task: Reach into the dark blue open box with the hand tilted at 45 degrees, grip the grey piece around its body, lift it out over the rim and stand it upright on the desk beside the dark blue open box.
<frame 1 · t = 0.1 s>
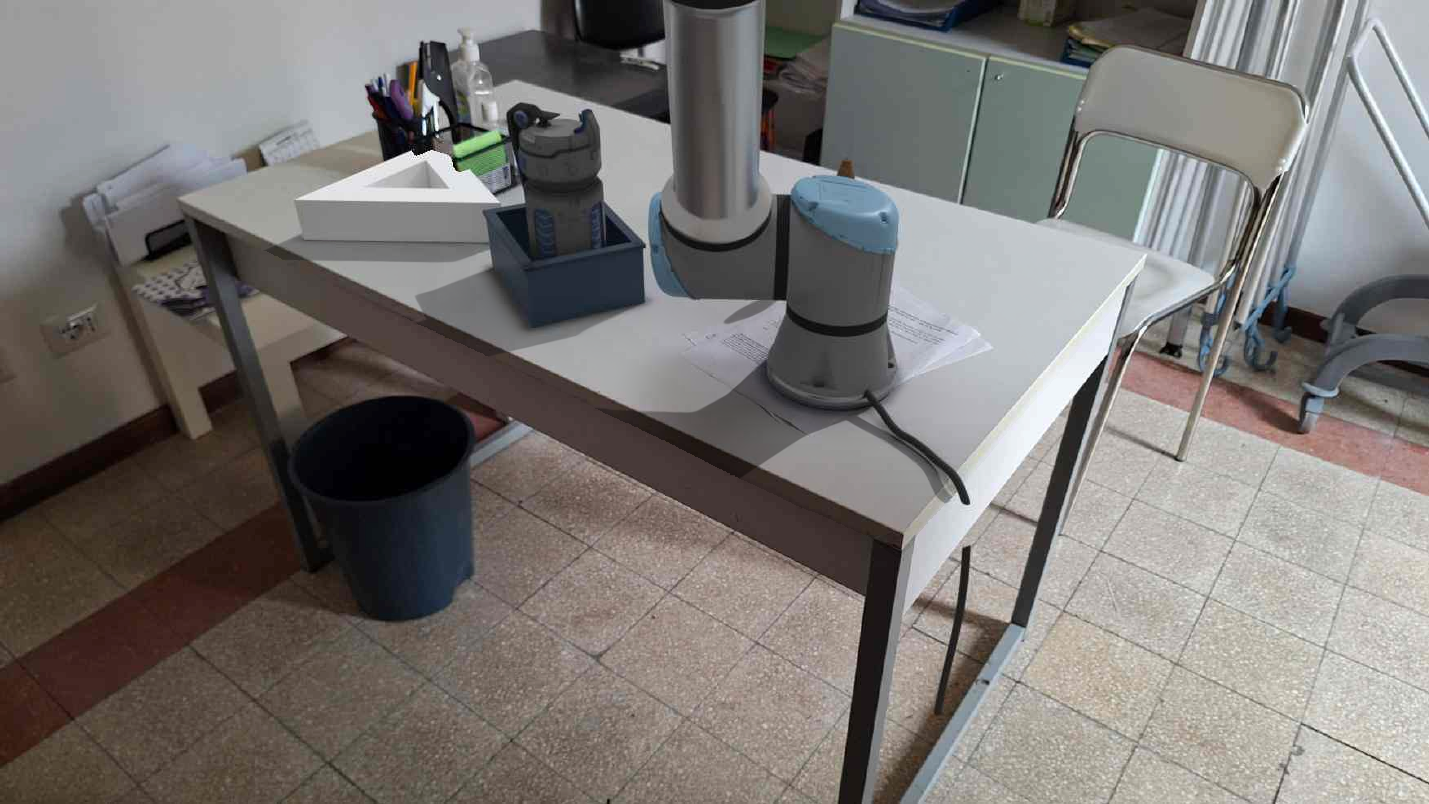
dark blue open box: (566, 284, 136), on the table
triangle block: (440, 224, 152), on the table
hand bell: (837, 266, 142), on the table
grey piece: (566, 285, 136), resting in dark blue open box
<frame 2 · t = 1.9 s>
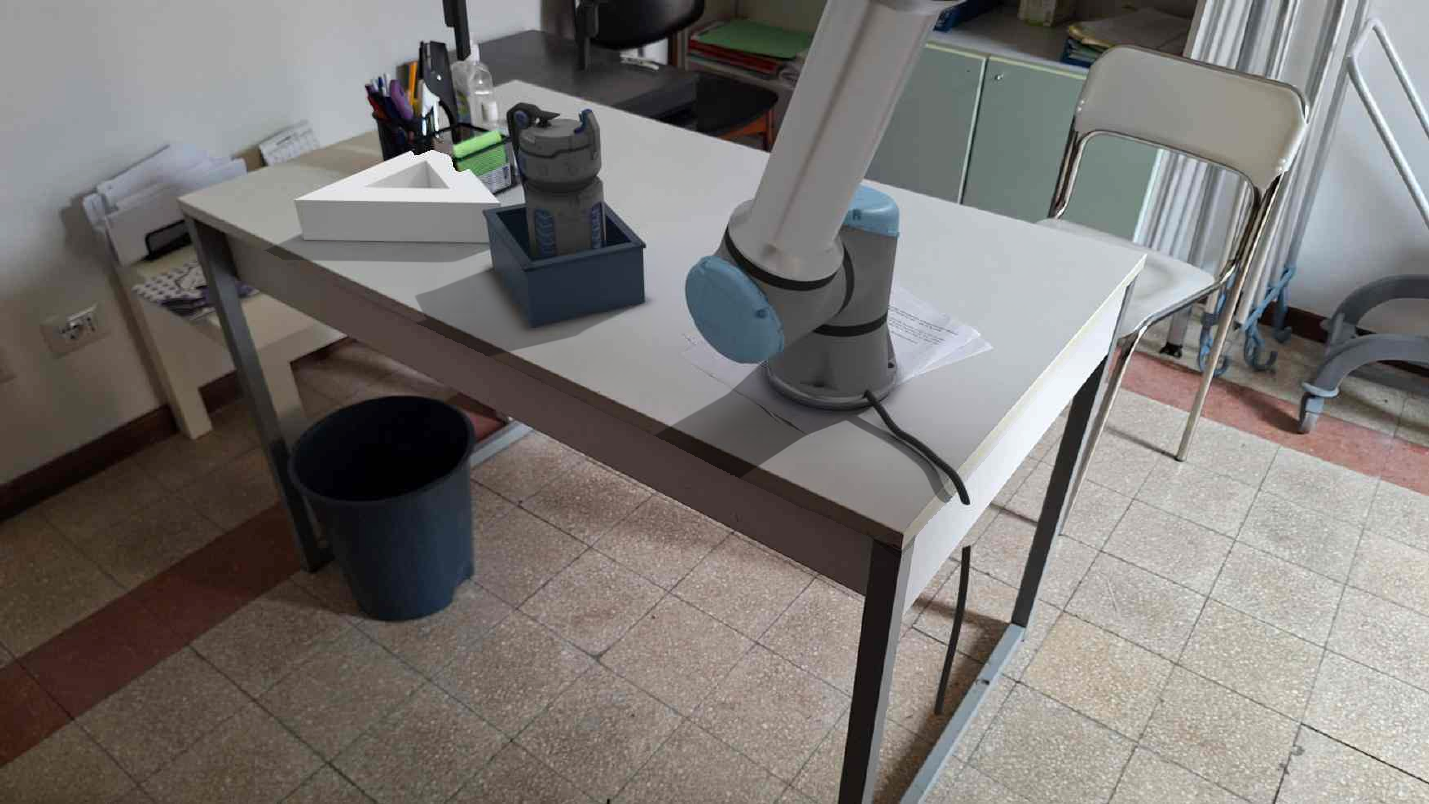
hand: (524, 62, 110), 33 cm above the table, tool pointing down, fingers open, 13 cm apart
nothing on the table moved.
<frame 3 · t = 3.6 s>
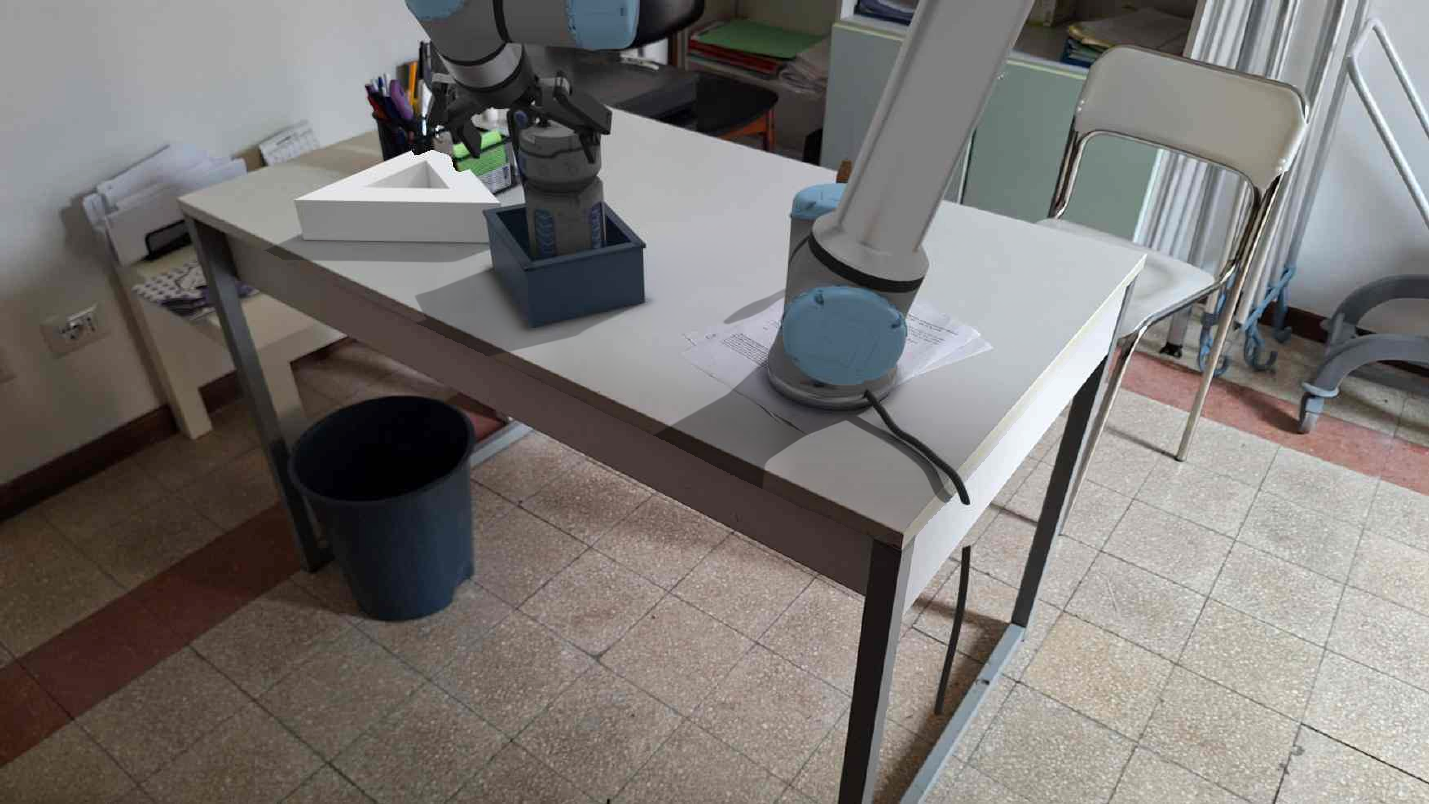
hand: (535, 150, 115), 23 cm above the table, tool tilted 45°, fingers open, 13 cm apart
nothing on the table moved.
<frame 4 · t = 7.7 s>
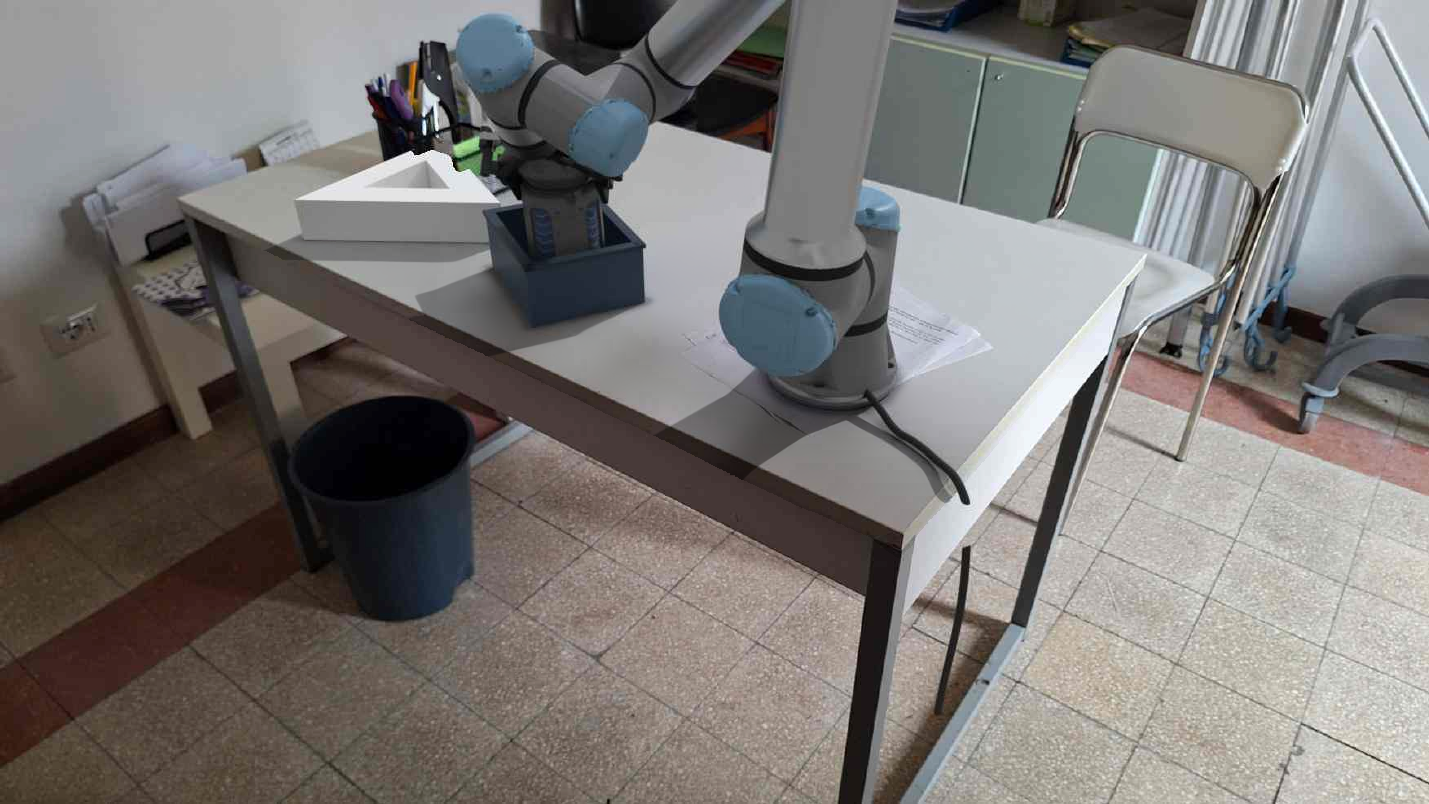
hand: (563, 192, 131), 12 cm above the table, tool tilted 45°, fingers closed on grey piece, 11 cm apart
grey piece: (566, 284, 136), resting in dark blue open box, touching gripper
everything else where it was.
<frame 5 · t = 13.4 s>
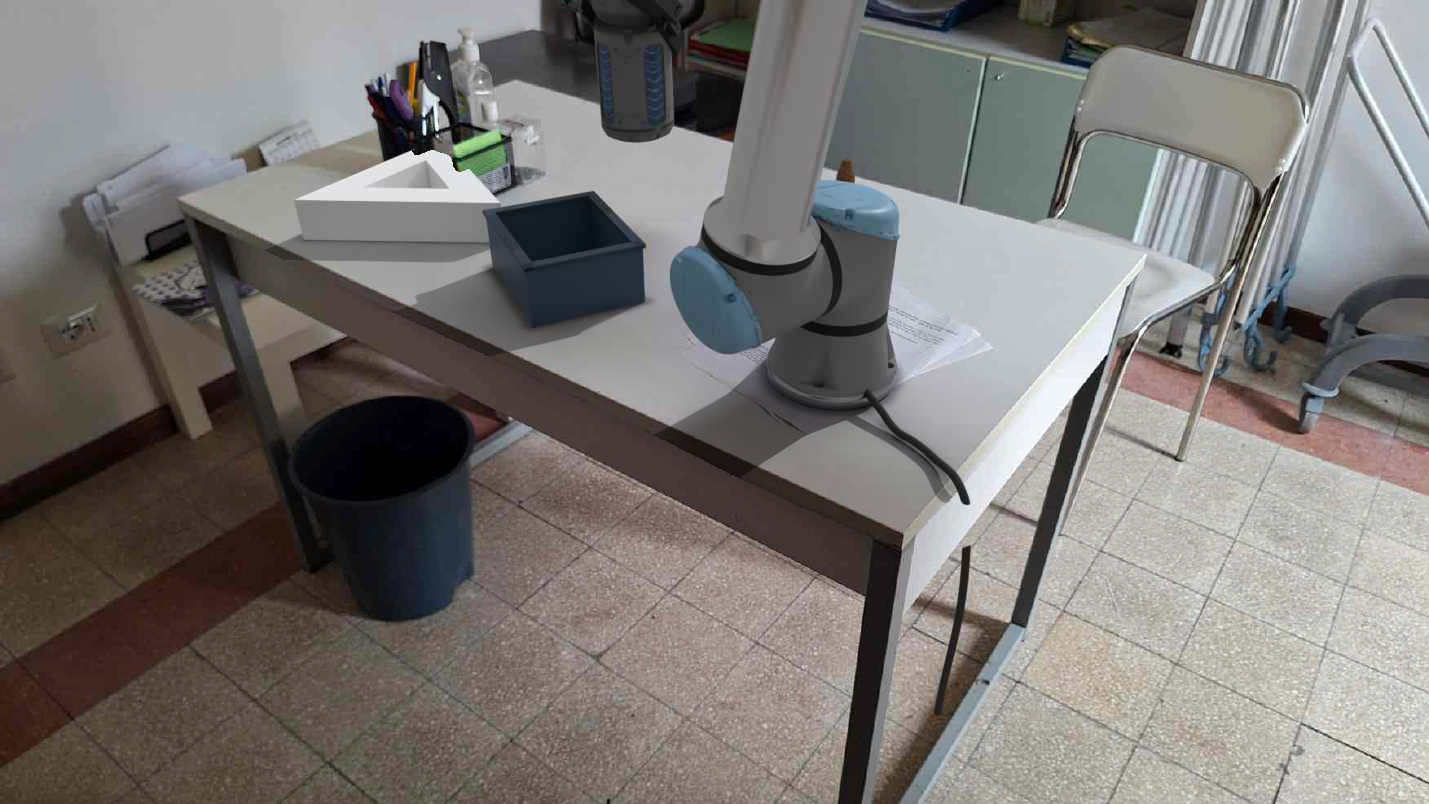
hand: (643, 39, 134), 28 cm above the table, tool tilted 45°, fingers closed on grey piece, 11 cm apart
grey piece: (635, 133, 139), point 16 cm above the table, touching gripper
everything else where it was.
when the fingers open (12 cm above the table, at t = 19.1 s): grey piece stays where it is, on the table.
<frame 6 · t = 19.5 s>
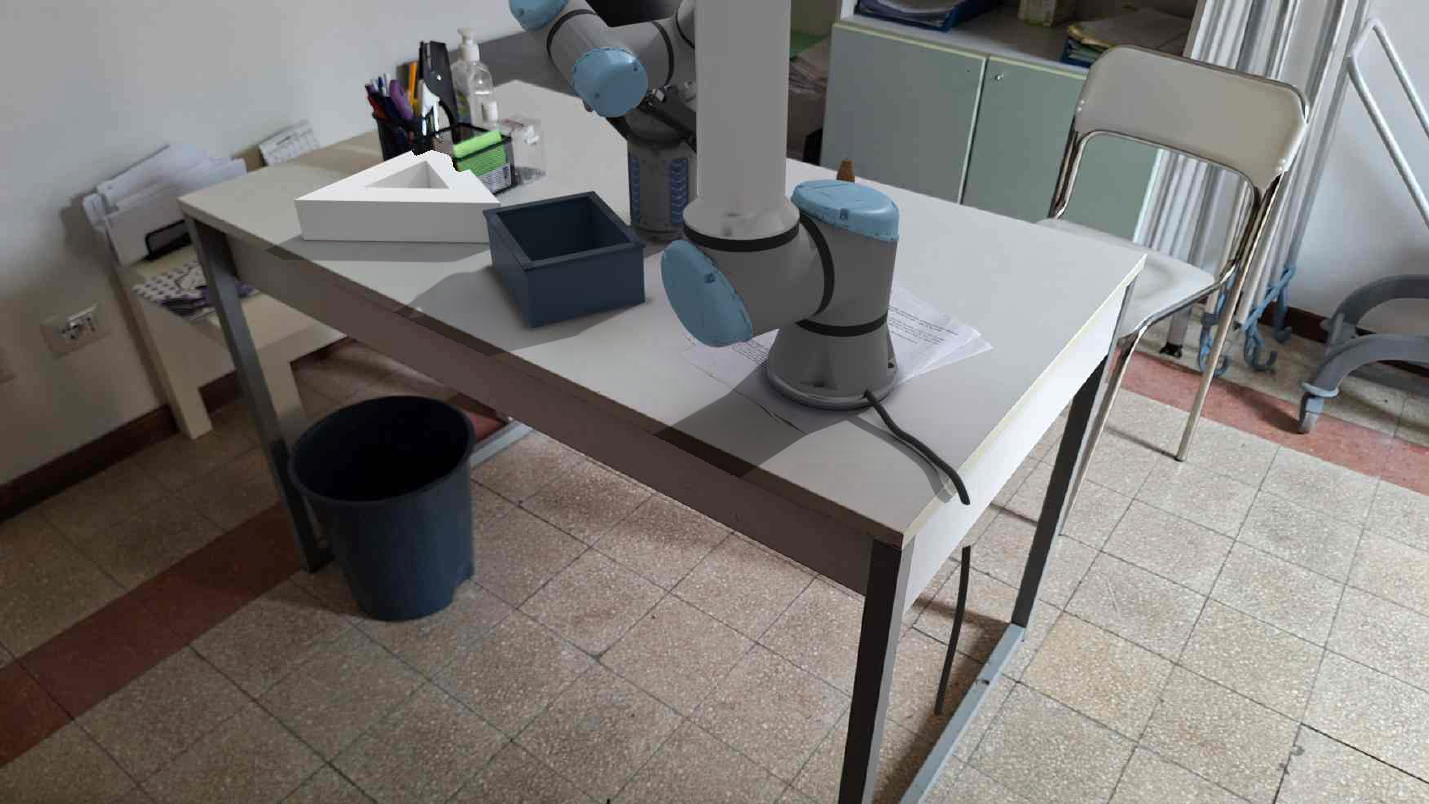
hand: (668, 142, 145), 13 cm above the table, tool tilted 45°, fingers open, 13 cm apart
grey piece: (661, 229, 151), on the table
everything else where it was.
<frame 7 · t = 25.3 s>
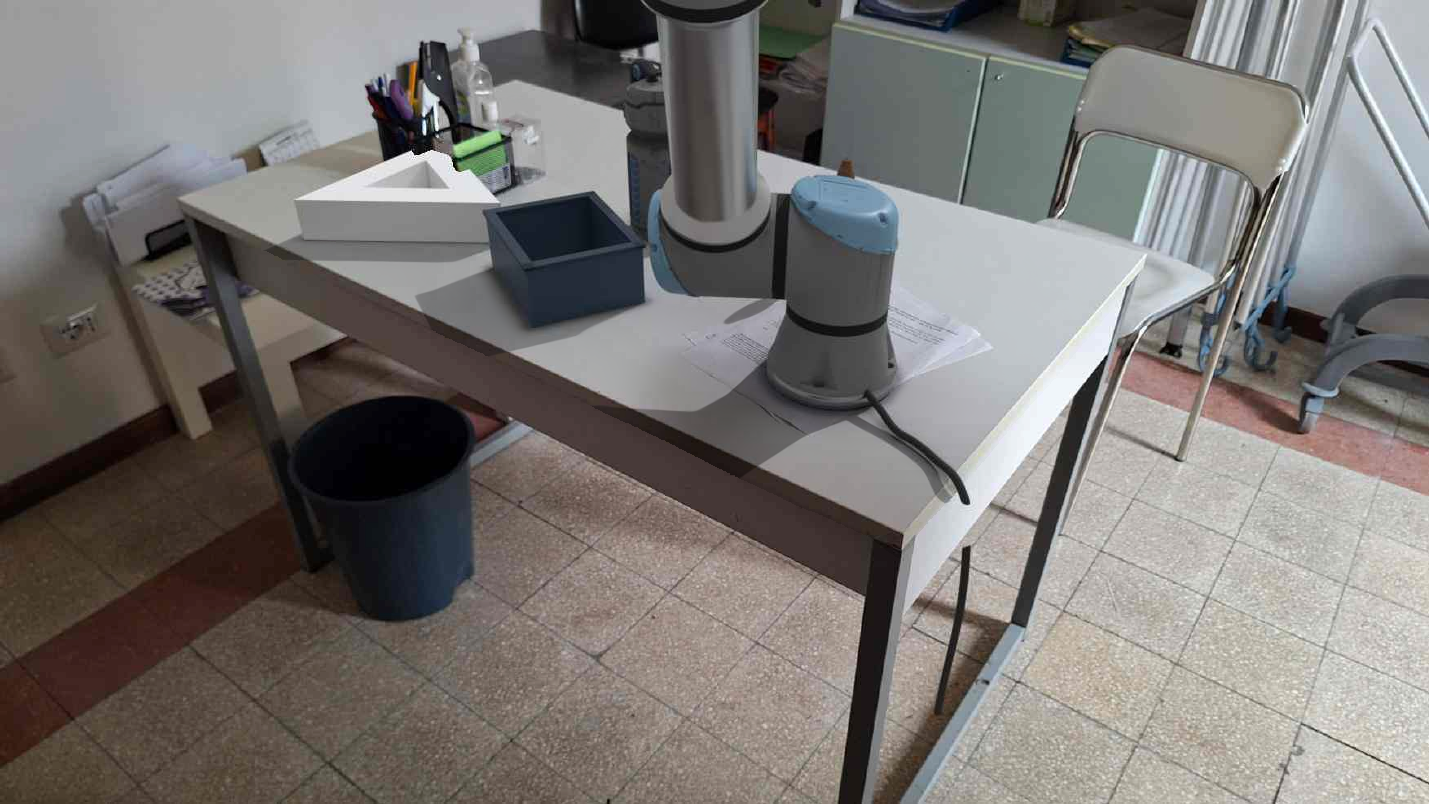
hand: (762, 13, 122), 34 cm above the table, tool pointing down, fingers open, 13 cm apart
nothing on the table moved.
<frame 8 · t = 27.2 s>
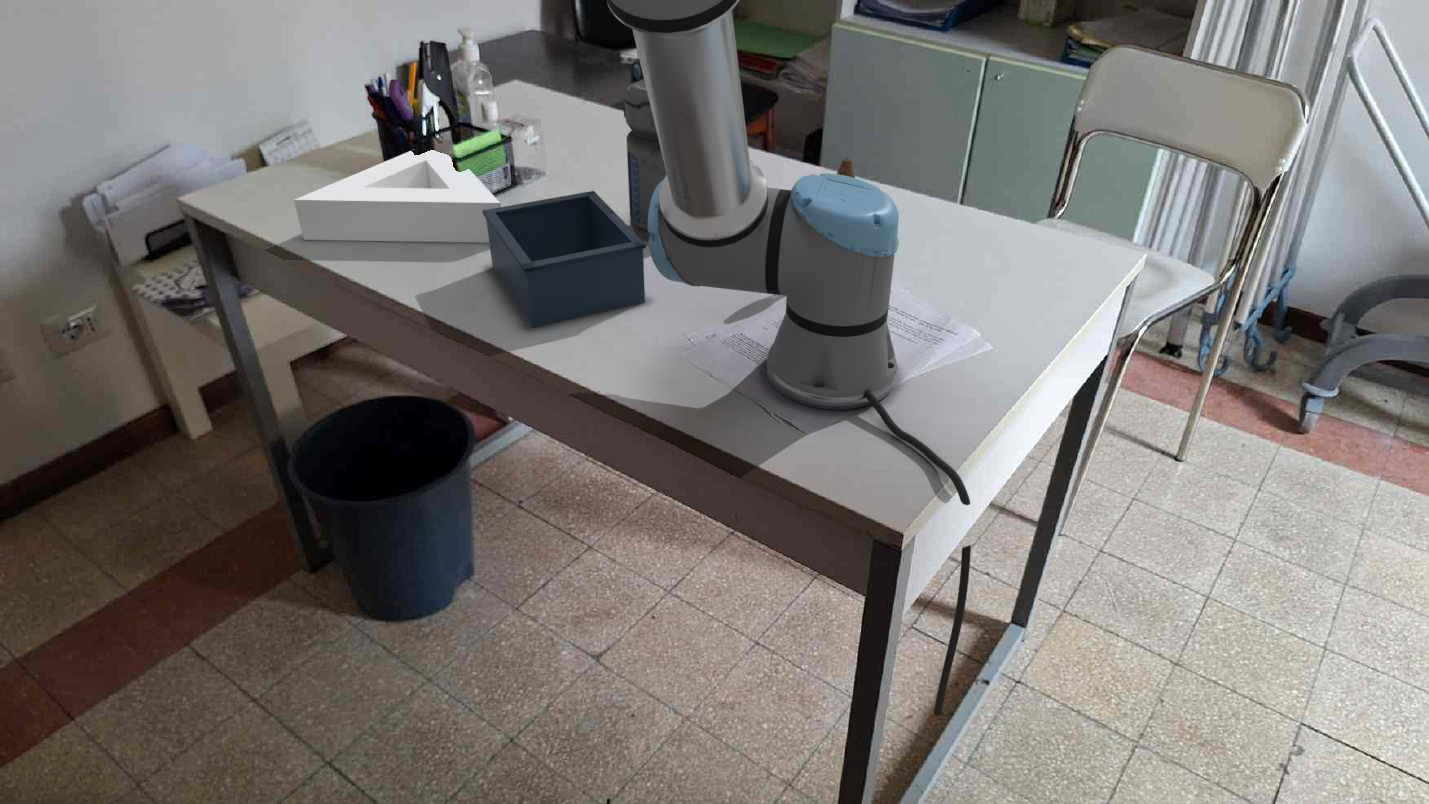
nothing on the table moved.
at the end: grey piece inside the target area (0.1 cm from its centre), on the table; grey piece tilted 0°; the gripper is holding nothing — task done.
